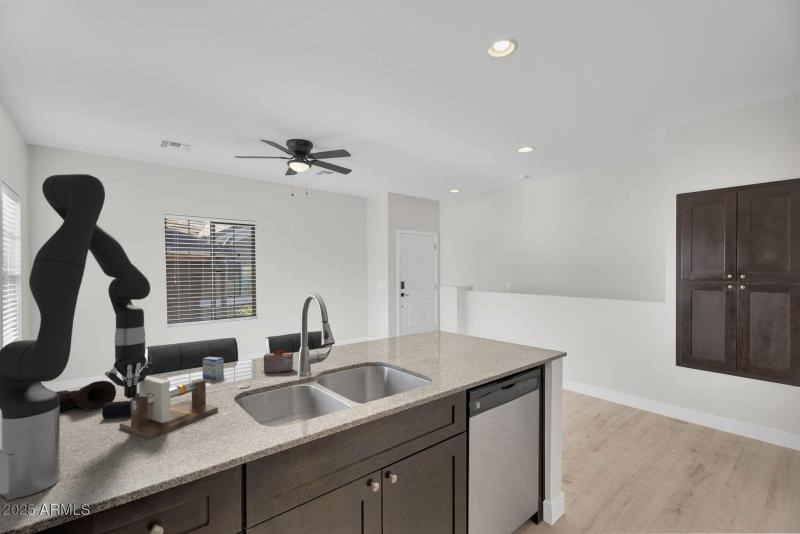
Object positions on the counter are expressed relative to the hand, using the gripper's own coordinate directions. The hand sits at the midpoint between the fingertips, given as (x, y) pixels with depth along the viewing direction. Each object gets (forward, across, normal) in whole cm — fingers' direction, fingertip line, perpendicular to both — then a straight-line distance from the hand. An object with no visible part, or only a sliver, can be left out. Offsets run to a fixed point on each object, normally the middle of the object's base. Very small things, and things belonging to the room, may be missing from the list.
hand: (130, 397), depth 111 cm
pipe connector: (+10, +9, +14) cm, 19 cm away
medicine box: (+10, +46, +24) cm, 53 cm away
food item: (+10, +66, +5) cm, 67 cm away
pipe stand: (+10, +10, -4) cm, 14 cm away
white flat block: (+7, +5, -4) cm, 9 cm away
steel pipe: (+3, +10, -4) cm, 11 cm away
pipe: (+10, +2, +35) cm, 36 cm away
